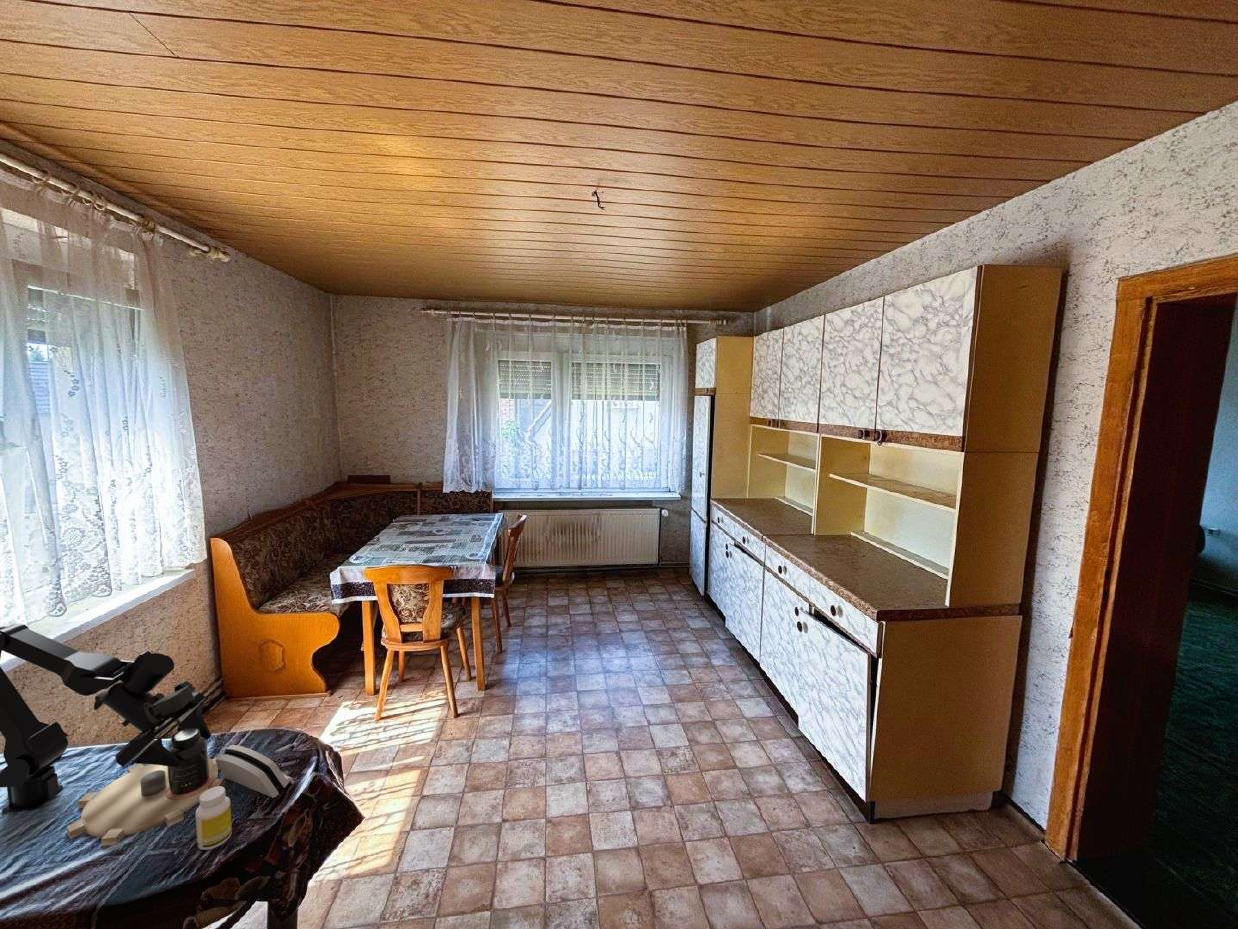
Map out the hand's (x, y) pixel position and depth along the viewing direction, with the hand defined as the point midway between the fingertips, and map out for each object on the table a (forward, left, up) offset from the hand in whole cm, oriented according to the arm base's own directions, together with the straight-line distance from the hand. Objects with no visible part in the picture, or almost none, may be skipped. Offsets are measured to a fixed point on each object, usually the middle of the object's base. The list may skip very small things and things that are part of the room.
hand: (195, 751), depth 113 cm
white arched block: (+11, +1, -10) cm, 15 cm away
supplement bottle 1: (-2, 0, -8) cm, 8 cm away
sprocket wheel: (-8, 0, -10) cm, 13 cm away
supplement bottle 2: (+11, -15, -10) cm, 21 cm away
